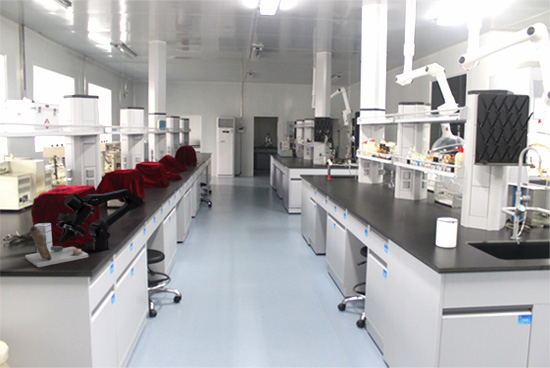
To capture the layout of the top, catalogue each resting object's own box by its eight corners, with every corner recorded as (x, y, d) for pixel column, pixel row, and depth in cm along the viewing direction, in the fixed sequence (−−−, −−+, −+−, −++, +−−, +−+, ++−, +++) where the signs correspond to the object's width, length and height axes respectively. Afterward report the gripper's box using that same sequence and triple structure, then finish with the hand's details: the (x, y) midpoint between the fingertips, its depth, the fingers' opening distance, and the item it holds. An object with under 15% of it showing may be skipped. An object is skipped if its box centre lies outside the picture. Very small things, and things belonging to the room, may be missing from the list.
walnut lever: (46, 256, 193) (32, 224, 188) (52, 258, 190) (38, 226, 184) (41, 259, 192) (26, 227, 186) (47, 261, 188) (33, 228, 182)
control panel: (73, 249, 213) (73, 245, 213) (88, 257, 199) (88, 252, 199) (25, 258, 198) (25, 254, 197) (37, 267, 184) (37, 262, 183)
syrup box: (53, 250, 212) (51, 222, 210) (47, 253, 206) (45, 225, 204) (41, 250, 212) (39, 222, 210) (35, 253, 206) (33, 225, 204)
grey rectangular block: (59, 249, 207) (59, 246, 207) (62, 250, 205) (63, 247, 205) (50, 249, 203) (50, 246, 203) (53, 250, 201) (53, 247, 201)
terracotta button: (79, 252, 201) (79, 248, 200) (82, 253, 198) (82, 249, 198) (71, 253, 198) (71, 249, 198) (74, 255, 196) (74, 251, 195)
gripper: (58, 204, 202) (37, 231, 195) (77, 208, 191) (55, 236, 184) (75, 217, 210) (55, 243, 202) (95, 221, 199) (74, 249, 191)
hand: (59, 242), depth 195 cm, fingers closed
